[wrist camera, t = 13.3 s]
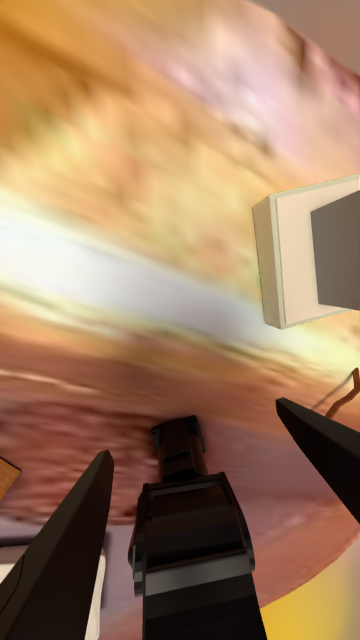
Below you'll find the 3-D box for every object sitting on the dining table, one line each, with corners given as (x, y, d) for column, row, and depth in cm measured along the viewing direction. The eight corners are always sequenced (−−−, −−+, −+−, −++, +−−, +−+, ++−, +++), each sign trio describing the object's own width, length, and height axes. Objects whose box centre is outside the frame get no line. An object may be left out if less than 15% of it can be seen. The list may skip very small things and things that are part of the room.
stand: (360, 297, 22) (391, 299, 19) (265, 323, 21) (282, 330, 18) (365, 180, 18) (403, 162, 15) (252, 207, 18) (270, 193, 15)
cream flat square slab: (-44, 533, 24) (-78, 574, 20) (112, 524, 27) (105, 559, 23) (-26, 619, 28) (-50, 663, 25) (105, 603, 31) (99, 641, 28)
